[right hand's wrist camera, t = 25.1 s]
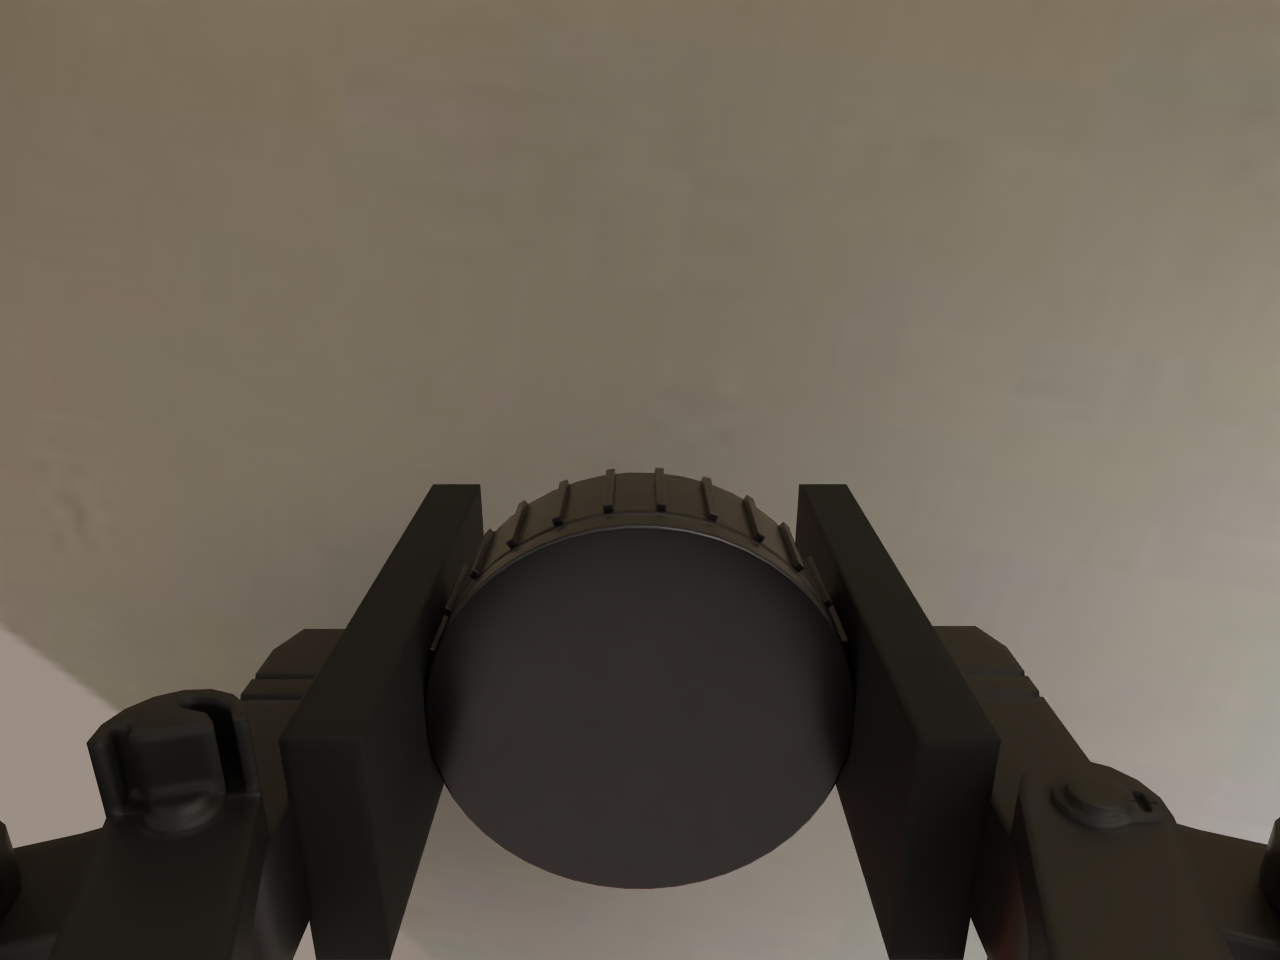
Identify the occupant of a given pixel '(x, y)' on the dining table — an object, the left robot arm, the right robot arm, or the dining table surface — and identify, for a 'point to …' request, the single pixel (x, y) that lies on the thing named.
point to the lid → (639, 683)
